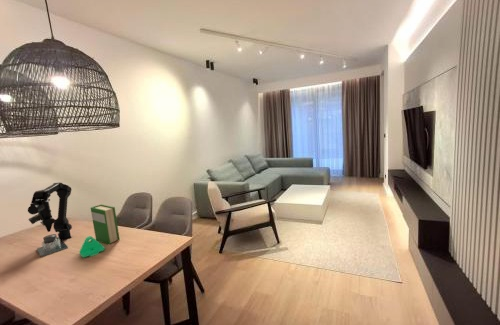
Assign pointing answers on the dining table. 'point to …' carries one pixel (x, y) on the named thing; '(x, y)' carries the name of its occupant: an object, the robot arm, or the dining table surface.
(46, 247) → the square base plate
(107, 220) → the hardback book
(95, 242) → the camera mount
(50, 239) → the dark grey rounded lump
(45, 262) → the dining table surface
